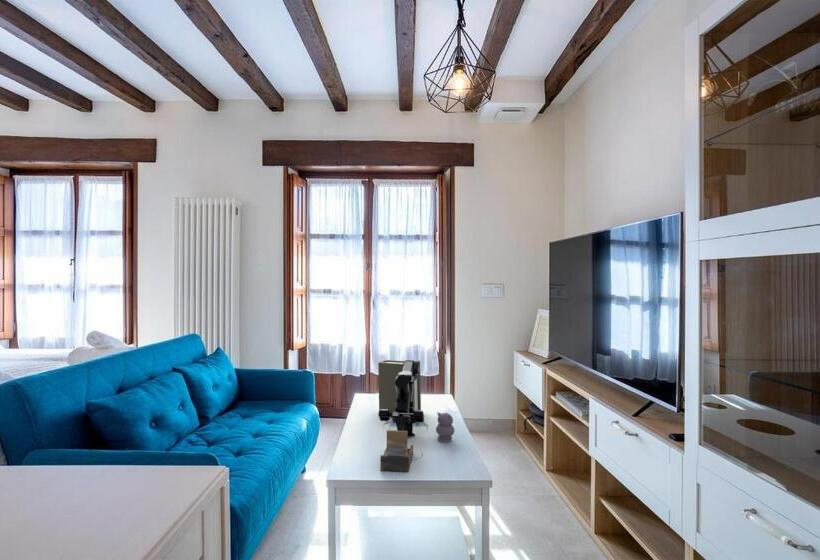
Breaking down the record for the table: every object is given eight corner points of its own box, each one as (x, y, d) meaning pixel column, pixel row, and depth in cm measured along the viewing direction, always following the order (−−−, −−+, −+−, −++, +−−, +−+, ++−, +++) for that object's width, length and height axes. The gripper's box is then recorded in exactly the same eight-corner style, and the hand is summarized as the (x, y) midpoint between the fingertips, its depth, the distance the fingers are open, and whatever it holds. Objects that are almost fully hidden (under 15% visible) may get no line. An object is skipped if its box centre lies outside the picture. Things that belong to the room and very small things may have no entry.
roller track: (387, 452, 171) (387, 439, 171) (413, 453, 170) (413, 440, 170) (380, 471, 154) (380, 456, 154) (408, 472, 153) (408, 457, 153)
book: (377, 413, 224) (377, 361, 224) (386, 408, 232) (385, 358, 233) (413, 417, 215) (412, 363, 215) (420, 412, 223) (420, 360, 224)
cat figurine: (458, 440, 185) (458, 413, 185) (447, 445, 179) (447, 417, 179) (442, 435, 190) (443, 409, 190) (432, 440, 184) (432, 413, 184)
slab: (387, 455, 161) (387, 430, 161) (407, 456, 160) (407, 430, 160) (384, 462, 155) (384, 435, 155) (405, 463, 154) (405, 436, 154)
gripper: (425, 409, 182) (423, 444, 171) (384, 408, 185) (379, 442, 174) (424, 397, 174) (421, 433, 164) (380, 396, 177) (375, 431, 166)
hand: (399, 435), depth 167 cm, fingers closed
